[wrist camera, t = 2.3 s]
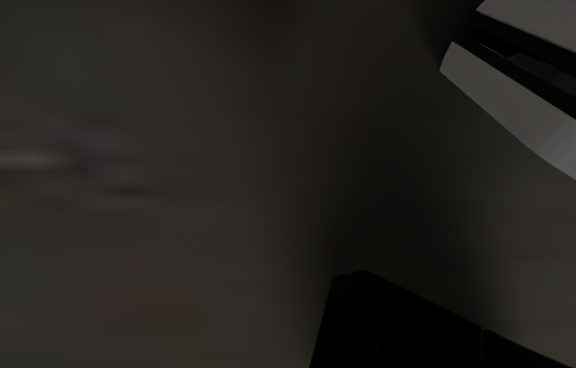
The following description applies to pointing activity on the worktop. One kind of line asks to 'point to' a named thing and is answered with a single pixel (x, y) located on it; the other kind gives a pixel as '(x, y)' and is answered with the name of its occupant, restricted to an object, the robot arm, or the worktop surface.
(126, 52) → the worktop surface
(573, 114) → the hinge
